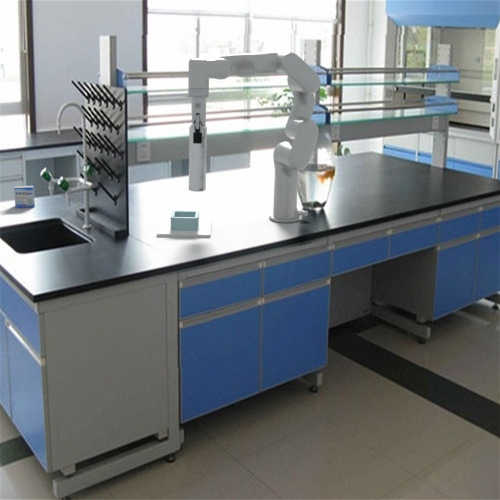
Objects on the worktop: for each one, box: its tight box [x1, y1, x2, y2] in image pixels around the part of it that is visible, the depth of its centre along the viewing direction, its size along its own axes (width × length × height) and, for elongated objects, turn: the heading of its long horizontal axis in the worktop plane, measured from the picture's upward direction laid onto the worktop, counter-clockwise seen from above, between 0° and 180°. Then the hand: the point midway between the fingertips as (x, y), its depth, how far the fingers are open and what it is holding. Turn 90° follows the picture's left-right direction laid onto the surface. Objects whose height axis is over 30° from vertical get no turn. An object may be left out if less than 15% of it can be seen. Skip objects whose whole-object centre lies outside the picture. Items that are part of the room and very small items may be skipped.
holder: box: [156, 210, 212, 238], centre depth 279 cm, size 20×20×6 cm
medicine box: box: [13, 185, 36, 209], centre depth 304 cm, size 8×4×9 cm, turn 105°
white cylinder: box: [188, 123, 208, 193], centre depth 273 cm, size 6×6×25 cm
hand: (197, 141), depth 271 cm, fingers closed on white cylinder, 6 cm apart
